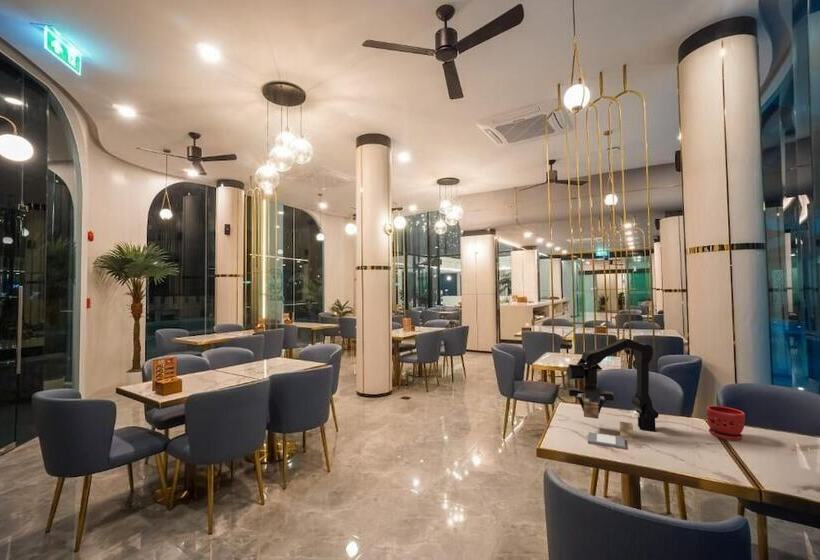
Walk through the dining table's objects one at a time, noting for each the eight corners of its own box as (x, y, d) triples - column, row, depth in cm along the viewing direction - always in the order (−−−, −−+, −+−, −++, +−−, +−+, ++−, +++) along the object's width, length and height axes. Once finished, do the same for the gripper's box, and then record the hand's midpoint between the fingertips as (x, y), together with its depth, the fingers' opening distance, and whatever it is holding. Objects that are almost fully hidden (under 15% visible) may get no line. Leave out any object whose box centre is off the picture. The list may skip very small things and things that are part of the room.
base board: (624, 439, 167) (624, 436, 167) (625, 449, 158) (625, 446, 158) (588, 434, 174) (588, 431, 174) (587, 443, 164) (587, 440, 164)
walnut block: (598, 413, 182) (598, 403, 182) (598, 418, 175) (598, 407, 175) (584, 411, 185) (584, 401, 185) (583, 416, 178) (583, 406, 178)
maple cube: (632, 434, 174) (632, 423, 174) (633, 438, 169) (632, 426, 169) (619, 432, 176) (619, 421, 176) (620, 436, 172) (619, 425, 172)
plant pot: (747, 445, 161) (746, 416, 161) (707, 437, 169) (706, 410, 169) (744, 435, 171) (743, 408, 171) (707, 429, 179) (706, 403, 179)
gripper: (567, 380, 178) (568, 414, 177) (613, 385, 169) (614, 420, 169) (569, 375, 187) (570, 407, 187) (613, 379, 179) (613, 413, 179)
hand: (591, 412), depth 180 cm, fingers closed on walnut block, 6 cm apart
